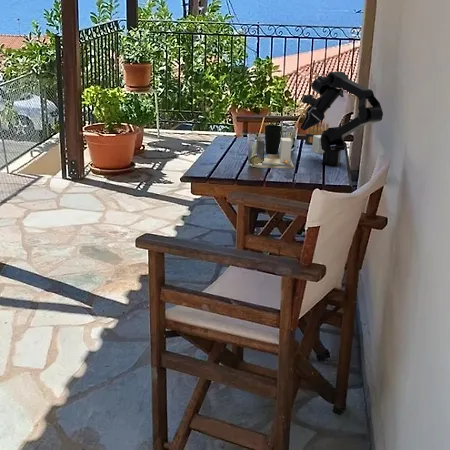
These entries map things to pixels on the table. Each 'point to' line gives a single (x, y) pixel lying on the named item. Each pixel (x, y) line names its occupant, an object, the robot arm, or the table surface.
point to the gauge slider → (285, 150)
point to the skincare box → (317, 144)
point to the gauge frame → (269, 158)
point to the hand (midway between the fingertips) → (301, 129)
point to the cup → (272, 138)
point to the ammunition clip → (315, 132)
